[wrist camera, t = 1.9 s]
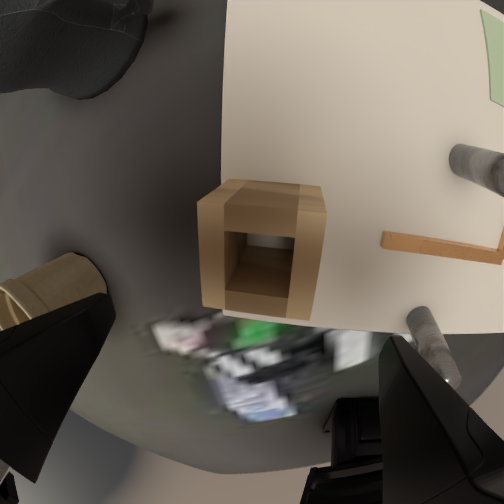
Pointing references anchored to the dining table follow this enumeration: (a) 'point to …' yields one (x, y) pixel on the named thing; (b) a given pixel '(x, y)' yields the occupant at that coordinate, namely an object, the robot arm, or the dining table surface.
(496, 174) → the wire and posts
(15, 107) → the dining table surface
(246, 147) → the course mat
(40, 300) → the flower pot
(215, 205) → the oak open box
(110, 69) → the dark grey holder
